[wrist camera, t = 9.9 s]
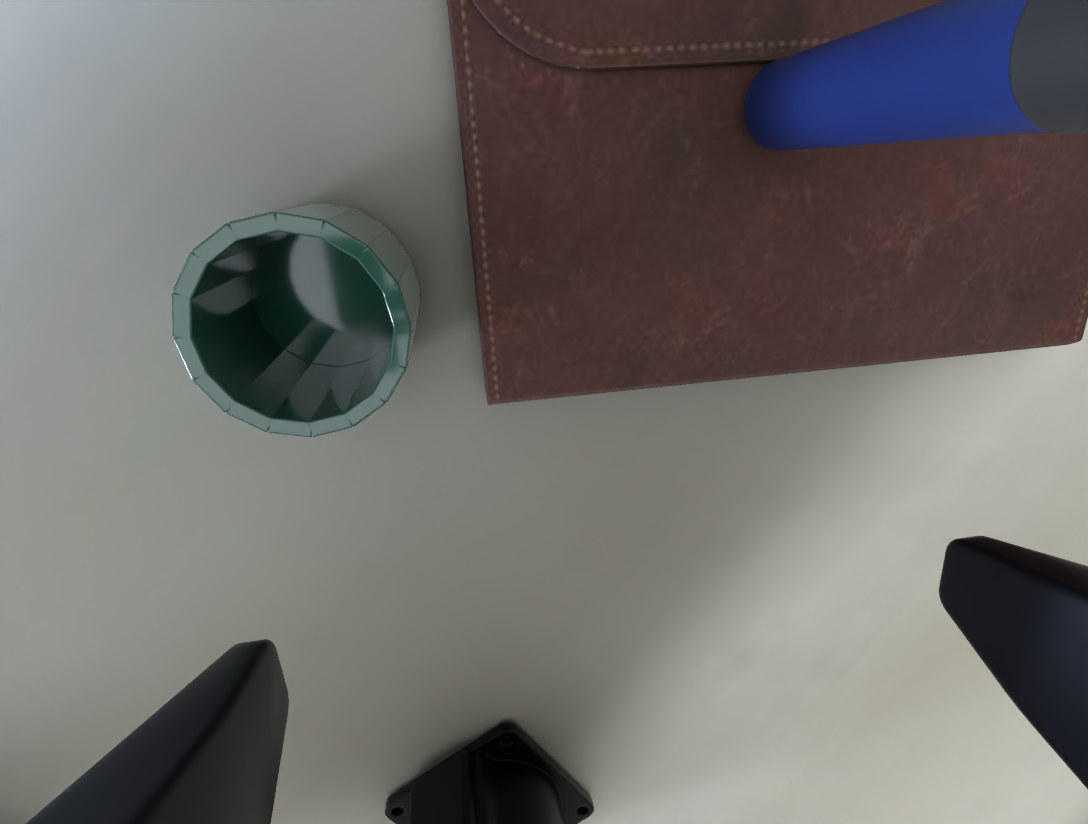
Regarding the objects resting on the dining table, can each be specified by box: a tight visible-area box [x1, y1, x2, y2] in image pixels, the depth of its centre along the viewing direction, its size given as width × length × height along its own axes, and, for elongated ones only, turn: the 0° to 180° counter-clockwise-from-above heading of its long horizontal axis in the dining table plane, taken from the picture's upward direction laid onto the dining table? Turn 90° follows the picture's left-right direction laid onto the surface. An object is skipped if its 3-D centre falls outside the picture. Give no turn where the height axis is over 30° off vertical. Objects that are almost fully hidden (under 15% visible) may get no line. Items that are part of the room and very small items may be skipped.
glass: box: [172, 203, 420, 437], centre depth 16 cm, size 5×5×5 cm
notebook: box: [447, 0, 1088, 405], centre depth 18 cm, size 15×20×2 cm
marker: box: [745, 0, 1088, 151], centre depth 11 cm, size 2×2×11 cm
